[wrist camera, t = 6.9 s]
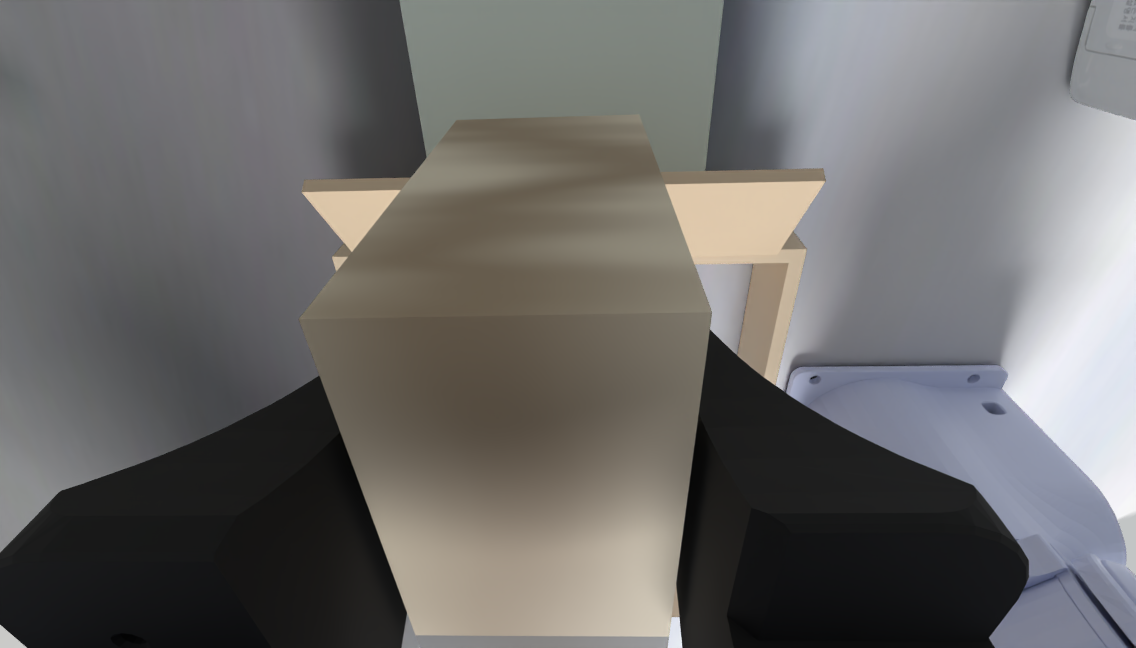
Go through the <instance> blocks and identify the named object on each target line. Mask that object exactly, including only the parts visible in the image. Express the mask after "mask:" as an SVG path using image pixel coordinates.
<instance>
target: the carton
mask: <svg viewBox="0 0 1136 648" xmlns="http://www.w3.org/2000/svg"><path fill="white" fill-rule="evenodd" d="M661 175H662V178H663V180H664V183H665V186H666V188H667V191H668V194H669V197H670V199H671V202H672V205H673V207H674V210H675V213H676V216H677V218H678V221H679V224H680V226H681V229H682V232H683V235H684V237H685V240H686V243H687V245H688V248H689V251H690V254H691V256H692V259H693V262H694V264H749V263H753V269H752V274H751V280H750V286H749V291H748V297H747V303H746V309H745V314H744V320H743V326H742V331H741V337H740V343H739V348H738V354H737V356H738V357H740V358H741V359H742V360H743V361H744V362H746V363H747V364H748V365H749V366H750V367H751V368H753V369H754V370H755V371H756V372H758V373H759V374H760V375H762V376H763V377H764V378H766V379H767V380H768V381H770V382H771V383H773V384H774V385H776V380H777V376H778V372H779V368H780V363H781V359H782V355H783V350H784V346H785V342H786V337H787V333H788V329H789V325H790V320H791V316H792V312H793V307H794V303H795V299H796V294H797V290H798V286H799V282H800V277H801V273H802V269H803V264H804V260H805V256H806V252H807V248H806V247H805V246H804V245H803V243H802V242H801V241H800V239H799V238H798V237H797V236H796V234H795V233H794V232H793V230H794V229H795V227H796V226H797V224H798V223H799V221H800V220H801V218H802V217H803V215H804V213H805V212H806V210H807V209H808V207H809V206H810V204H811V203H812V201H813V200H814V198H815V197H816V195H817V194H818V192H819V191H820V189H821V188H822V186H823V185H824V183H825V182H826V179H825V175H824V170H823V168H818V169H773V170H728V171H683V172H661ZM409 179H410V178H366V179H321V180H304V184H303V188H302V193H303V194H304V196H305V197H306V198H307V199H308V200H309V201H310V203H311V204H312V205H313V206H314V207H315V209H316V210H317V211H318V212H319V213H320V215H321V216H322V217H323V218H324V219H325V221H326V222H327V223H328V224H329V225H330V227H331V228H332V229H333V230H334V231H335V233H336V234H337V235H338V236H339V237H340V239H341V240H342V241H343V242H344V244H343V245H342V246H341V247H340V248H339V249H338V251H337V252H336V253H335V254H334V255H333V256H332V259H333V262H334V265H335V269H336V271H337V270H338V269H339V268H340V266H341V265H342V264H343V263H344V261H345V260H346V259H347V258H348V256H349V255H350V254H351V253H352V251H353V250H354V249H355V248H356V246H357V245H358V244H359V242H360V241H361V240H362V239H363V237H364V236H365V235H366V234H367V232H368V231H369V230H370V229H371V227H372V226H373V225H374V224H375V222H376V221H377V220H378V219H379V217H380V216H381V215H382V213H383V212H384V211H385V210H386V208H387V207H388V206H389V205H390V203H391V202H392V201H393V200H394V198H395V197H396V196H397V195H398V193H399V192H400V191H401V189H402V188H403V187H404V186H405V184H406V183H407V182H408V181H409ZM672 617H680V616H679V607H678V598H677V589H676V588H675V595H674V603H673V610H672Z"/></svg>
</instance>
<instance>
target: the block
mask: <svg viewBox="0 0 1136 648" xmlns="http://www.w3.org/2000/svg"><path fill="white" fill-rule="evenodd" d="M711 316H712V311H711V308H710V305H709V302H708V300H707V297H706V294H705V292H704V289H703V286H702V283H701V281H700V278H699V275H698V273H697V270H696V267H695V264H694V262H693V259H692V256H691V254H690V251H689V248H688V245H687V243H686V240H685V237H684V235H683V232H682V229H681V226H680V224H679V221H678V218H677V216H676V213H675V210H674V207H673V205H672V202H671V199H670V197H669V194H668V191H667V188H666V186H665V183H664V180H663V178H662V175H661V172H660V169H659V167H658V164H657V161H656V159H655V156H654V153H653V150H652V148H651V145H650V142H649V140H648V137H647V134H646V131H645V129H644V126H643V123H642V121H641V118H640V115H639V114H634V115H602V116H570V117H537V118H505V119H473V120H456V121H455V123H454V124H453V125H452V126H451V128H450V129H449V130H448V131H447V133H446V134H445V135H444V137H443V138H442V139H441V140H440V142H439V143H438V144H437V145H436V147H435V148H434V149H433V150H432V152H431V153H430V154H429V155H428V157H427V158H426V159H425V160H424V162H423V163H422V164H421V166H420V167H419V168H418V169H417V171H416V172H415V173H414V174H413V176H412V177H411V178H410V179H409V181H408V182H407V183H406V184H405V186H404V187H403V188H402V189H401V191H400V192H399V193H398V195H397V196H396V197H395V198H394V200H393V201H392V202H391V203H390V205H389V206H388V207H387V208H386V210H385V211H384V212H383V213H382V215H381V216H380V217H379V219H378V220H377V221H376V222H375V224H374V225H373V226H372V227H371V229H370V230H369V231H368V232H367V234H366V235H365V236H364V237H363V239H362V240H361V241H360V242H359V244H358V245H357V246H356V248H355V249H354V250H353V251H352V253H351V254H350V255H349V256H348V258H347V259H346V260H345V261H344V263H343V264H342V265H341V266H340V268H339V269H338V270H337V271H336V273H335V274H334V275H333V277H332V278H331V279H330V280H329V282H328V283H327V284H326V285H325V287H324V288H323V289H322V290H321V292H320V293H319V294H318V295H317V297H316V298H315V299H314V301H313V302H312V303H311V304H310V306H309V307H308V308H307V309H306V311H305V312H304V313H303V314H302V316H301V317H300V318H299V322H300V324H301V327H302V330H303V332H304V335H305V338H306V340H307V343H308V346H309V349H310V351H311V354H312V357H313V359H314V362H315V365H316V367H317V370H318V373H319V376H320V378H321V381H322V384H323V386H324V389H325V392H326V395H327V397H328V400H329V403H330V405H331V408H332V411H333V413H334V416H335V419H336V422H337V424H338V427H339V430H340V432H341V435H342V438H343V441H344V443H345V446H346V449H347V451H348V454H349V457H350V459H351V462H352V465H353V468H354V470H355V473H356V476H357V478H358V481H359V484H360V487H361V489H362V492H363V495H364V497H365V500H366V503H367V505H368V508H369V511H370V514H371V516H372V519H373V522H374V524H375V527H376V530H377V533H378V535H379V538H380V541H381V543H382V546H383V549H384V551H385V554H386V557H387V560H388V562H389V565H390V568H391V570H392V573H393V576H394V579H395V581H396V584H397V587H398V589H399V592H400V595H401V597H402V600H403V603H404V606H405V608H406V611H407V614H408V616H409V619H410V622H411V625H412V627H413V630H414V633H415V635H416V638H417V641H418V643H419V646H420V648H668V640H669V633H670V625H671V618H672V610H673V603H674V595H675V588H676V580H677V572H678V565H679V557H680V550H681V542H682V535H683V527H684V520H685V512H686V505H687V497H688V490H689V482H690V475H691V467H692V459H693V452H694V444H695V437H696V429H697V422H698V414H699V407H700V399H701V392H702V384H703V377H704V369H705V362H706V354H707V346H708V339H709V331H710V324H711Z"/></svg>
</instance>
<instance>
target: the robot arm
mask: <svg viewBox="0 0 1136 648" xmlns="http://www.w3.org/2000/svg"><path fill="white" fill-rule="evenodd" d="M971 375H973V376H971ZM813 376H817V377H816V378H814V379H810V378H811V377H813ZM970 376H971V377H970ZM1007 377H1008V373H1007V371H1006V370H1005V369H1004V368H1002V367H1001V366H998V365H963V366H843V367H799V368H797V369H795V370H794V371H793V372H792V373H791V375H790V379H789V383H788V387H787V391H786V393H785V392H784V391H782V390H781V389H780V388H778V387H777V386H775V385H774V384H773V383H771V382H770V381H768V380H767V379H766V378H764V377H763V376H762V375H760V374H759V373H758V372H756V371H755V370H754V369H753V368H751V367H750V366H749V365H748V364H747V363H746V362H744V361H743V360H742V359H741V358H740V357H738V356H737V355H736V354H735V353H734V352H733V351H732V350H730V349H729V348H728V347H727V346H726V345H725V344H724V343H723V342H722V341H721V340H720V339H719V338H718V337H717V336H716V335H715V334H714V333H713V332H712V331H711V330H710V331H709V339H708V346H707V354H706V362H705V369H704V377H703V384H702V392H701V399H700V407H699V414H698V422H697V429H696V437H695V444H694V452H693V459H692V467H691V475H690V482H689V490H688V497H687V505H686V512H685V520H684V527H683V535H682V542H681V550H680V557H679V565H678V572H677V580H676V589H677V598H678V607H679V616H680V627H681V637H682V647H683V648H1136V575H1135V574H1134V573H1133V572H1132V571H1131V570H1130V569H1128V568H1127V567H1126V547H1125V543H1124V538H1123V535H1122V532H1121V529H1120V526H1119V523H1118V521H1117V519H1116V516H1115V514H1114V512H1113V510H1112V508H1111V507H1110V505H1109V503H1108V501H1107V500H1106V498H1105V497H1104V495H1103V494H1102V492H1101V491H1100V490H1099V488H1098V487H1097V486H1096V485H1095V484H1094V483H1093V482H1092V480H1091V479H1090V478H1089V477H1088V476H1087V475H1086V474H1085V473H1084V472H1083V471H1082V470H1081V469H1080V468H1079V467H1078V466H1077V465H1076V464H1075V463H1074V462H1073V461H1072V460H1071V459H1070V458H1069V457H1068V456H1067V455H1066V454H1065V453H1064V452H1063V451H1062V450H1061V449H1060V448H1059V447H1058V446H1057V445H1056V444H1055V443H1054V442H1053V441H1052V440H1051V439H1050V438H1049V437H1048V436H1047V434H1046V433H1045V432H1044V431H1043V430H1042V429H1041V428H1040V427H1039V426H1038V425H1037V424H1036V423H1035V422H1034V421H1033V420H1032V419H1031V418H1030V417H1029V416H1028V415H1027V414H1026V413H1025V412H1024V411H1023V410H1022V409H1021V408H1020V407H1019V406H1018V405H1017V404H1016V403H1015V402H1014V401H1013V400H1012V399H1011V398H1010V397H1009V396H1008V395H1007V394H1006V393H1005V392H1004V391H1003V390H1002V387H1003V385H1004V383H1005V381H1006V379H1007ZM406 617H407V611H406V608H405V606H404V603H403V600H402V597H401V595H400V592H399V589H398V587H397V584H396V581H395V579H394V576H393V573H392V570H391V568H390V565H389V562H388V560H387V557H386V554H385V551H384V549H383V546H382V543H381V541H380V538H379V535H378V533H377V530H376V527H375V524H374V522H373V519H372V516H371V514H370V511H369V508H368V505H367V503H366V500H365V497H364V495H363V492H362V489H361V487H360V484H359V481H358V478H357V476H356V473H355V470H354V468H353V465H352V462H351V459H350V457H349V454H348V451H347V449H346V446H345V443H344V441H343V438H342V435H341V432H340V430H339V427H338V424H337V422H336V419H335V416H334V413H333V411H332V408H331V405H330V403H329V400H328V397H327V395H326V392H325V389H324V386H323V384H322V381H321V378H320V376H318V377H316V378H315V379H313V380H312V381H310V382H308V383H307V384H305V385H304V386H302V387H300V388H299V389H297V390H295V391H294V392H292V393H290V394H289V395H287V396H285V397H284V398H282V399H280V400H278V401H277V402H275V403H273V404H271V405H269V406H267V407H265V408H263V409H261V410H259V411H257V412H255V413H253V414H251V415H249V416H247V417H246V418H244V419H242V420H240V421H238V422H236V423H234V424H232V425H230V426H228V427H226V428H224V429H222V430H219V431H217V432H215V433H213V434H211V435H208V436H206V437H204V438H202V439H199V440H197V441H195V442H193V443H190V444H188V445H185V446H183V447H181V448H178V449H176V450H173V451H171V452H168V453H166V454H164V455H161V456H159V457H156V458H153V459H151V460H148V461H146V462H143V463H140V464H138V465H135V466H132V467H129V468H126V469H123V470H121V471H118V472H115V473H112V474H109V475H106V476H103V477H101V478H98V479H95V480H92V481H89V482H86V483H84V484H81V485H78V486H75V487H72V488H68V489H65V490H62V491H60V492H59V493H58V494H57V495H56V496H55V497H54V498H53V499H52V500H51V501H50V502H49V503H48V504H47V505H46V506H45V507H44V508H43V509H42V510H41V511H40V512H39V513H38V515H37V516H36V517H35V518H34V519H33V520H32V521H31V522H30V523H29V524H28V525H27V526H26V527H25V528H24V529H23V530H22V531H21V532H20V533H19V534H18V535H17V536H16V537H15V538H14V539H13V540H12V541H11V542H10V543H9V544H8V545H7V546H6V547H5V548H4V549H3V550H2V552H1V553H0V625H1V626H3V627H4V628H5V629H6V630H7V631H8V632H10V633H11V634H12V635H13V636H14V637H15V638H17V639H18V640H19V641H20V642H21V643H22V644H24V645H25V646H26V647H27V648H401V647H402V641H403V635H404V629H405V623H406Z"/></svg>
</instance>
